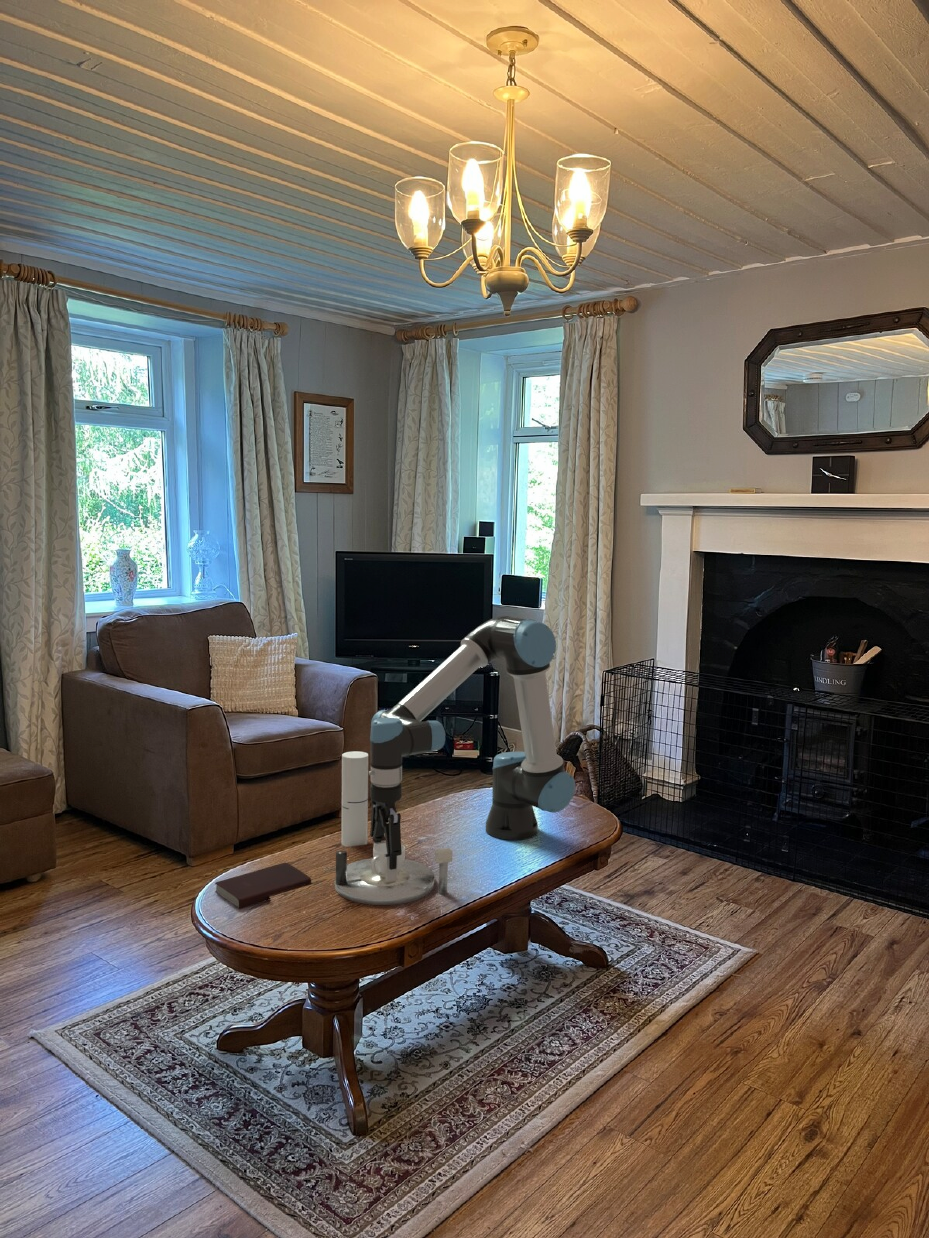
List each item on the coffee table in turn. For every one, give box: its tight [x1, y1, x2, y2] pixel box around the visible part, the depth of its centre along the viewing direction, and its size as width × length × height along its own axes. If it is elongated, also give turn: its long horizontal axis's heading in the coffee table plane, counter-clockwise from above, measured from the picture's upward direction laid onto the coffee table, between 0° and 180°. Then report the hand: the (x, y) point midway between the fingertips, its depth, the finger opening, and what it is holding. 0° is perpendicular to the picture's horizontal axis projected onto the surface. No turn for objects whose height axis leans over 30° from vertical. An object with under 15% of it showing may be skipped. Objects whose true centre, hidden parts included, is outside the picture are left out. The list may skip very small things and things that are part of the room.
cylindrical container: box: [341, 750, 369, 848], centre depth 246 cm, size 7×7×25 cm
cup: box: [371, 842, 406, 878], centre depth 216 cm, size 8×10×7 cm
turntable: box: [334, 850, 435, 906], centre depth 216 cm, size 24×24×10 cm
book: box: [214, 862, 312, 909], centre depth 215 cm, size 12×19×3 cm, turn 132°
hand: (385, 874), depth 217 cm, fingers closed on cup, 8 cm apart
